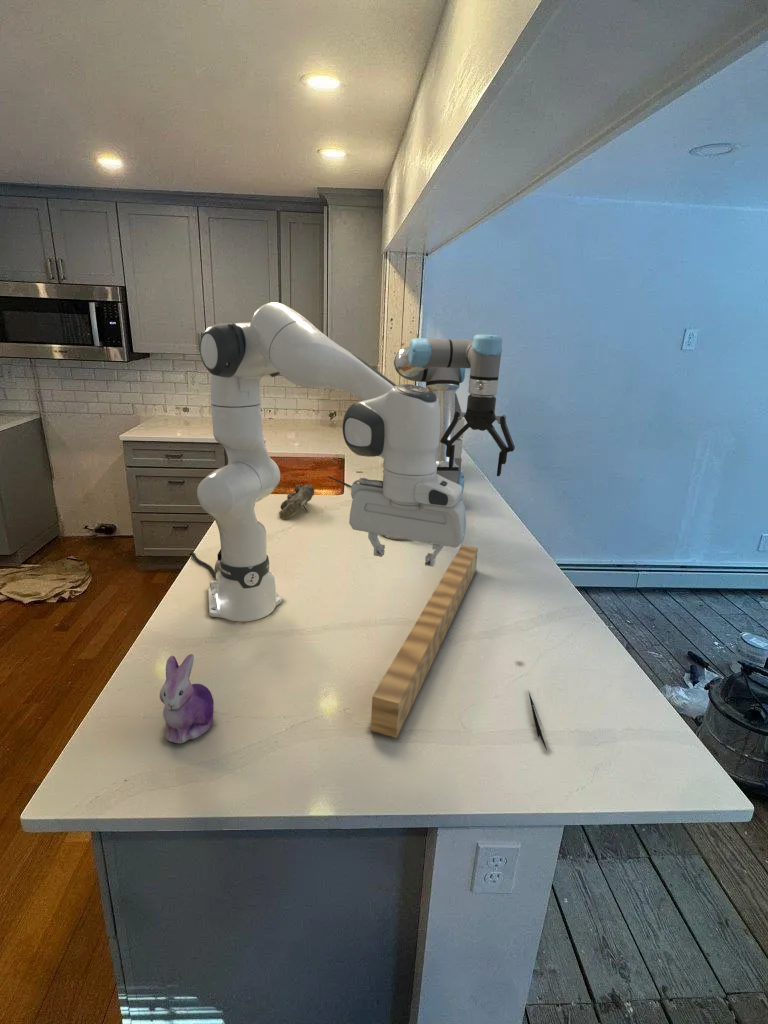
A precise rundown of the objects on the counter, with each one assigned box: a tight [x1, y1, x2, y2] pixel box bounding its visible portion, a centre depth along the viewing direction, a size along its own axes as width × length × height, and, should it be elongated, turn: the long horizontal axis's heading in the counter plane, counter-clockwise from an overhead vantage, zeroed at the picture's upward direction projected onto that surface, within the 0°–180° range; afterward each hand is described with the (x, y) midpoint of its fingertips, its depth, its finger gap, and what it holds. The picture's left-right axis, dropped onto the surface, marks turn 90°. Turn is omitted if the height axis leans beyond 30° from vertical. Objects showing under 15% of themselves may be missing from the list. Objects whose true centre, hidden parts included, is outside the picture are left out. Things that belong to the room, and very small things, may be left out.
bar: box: [370, 544, 479, 739], centre depth 139 cm, size 78×5×8 cm, turn 161°
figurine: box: [159, 653, 215, 744], centre depth 102 cm, size 9×10×15 cm
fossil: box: [278, 483, 315, 519], centre depth 216 cm, size 22×10×15 cm
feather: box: [528, 689, 548, 751], centre depth 116 cm, size 2×28×2 cm
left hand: (404, 560), depth 100 cm, fingers open, 8 cm apart
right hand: (474, 471), depth 159 cm, fingers open, 13 cm apart
